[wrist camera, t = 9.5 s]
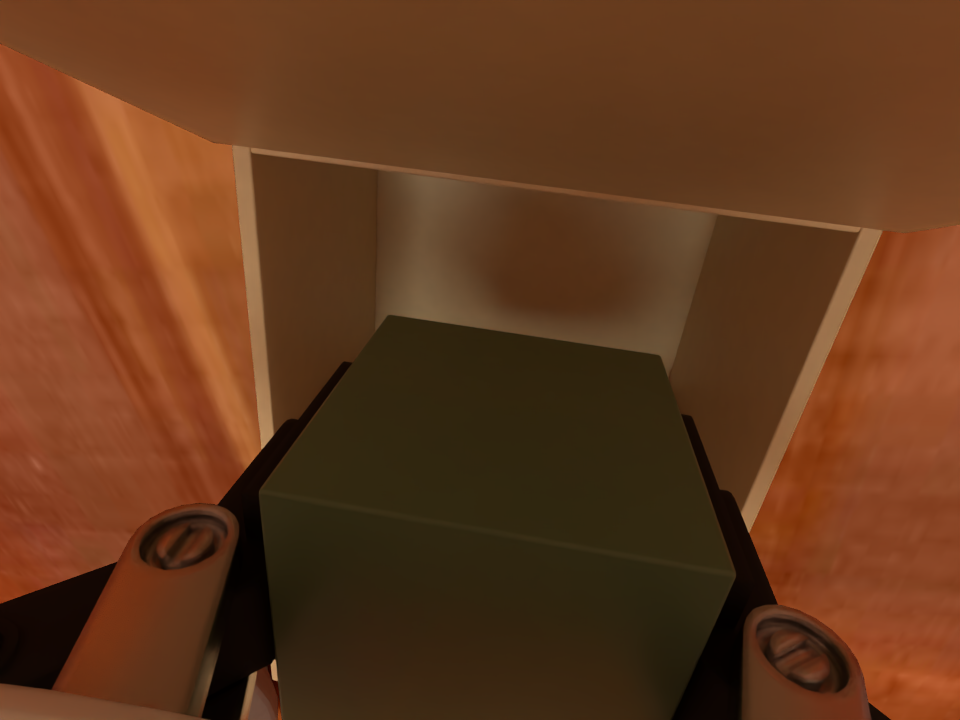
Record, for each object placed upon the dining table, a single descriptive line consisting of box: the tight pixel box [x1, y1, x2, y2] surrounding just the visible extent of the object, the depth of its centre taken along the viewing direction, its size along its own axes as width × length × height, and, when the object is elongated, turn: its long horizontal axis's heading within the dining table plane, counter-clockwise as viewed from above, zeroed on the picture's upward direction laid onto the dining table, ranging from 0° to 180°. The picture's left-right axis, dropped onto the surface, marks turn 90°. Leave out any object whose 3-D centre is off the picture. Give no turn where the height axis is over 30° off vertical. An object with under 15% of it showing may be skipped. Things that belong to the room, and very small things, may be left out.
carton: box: [232, 145, 883, 681], centre depth 19 cm, size 17×13×10 cm
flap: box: [0, 0, 960, 233], centre depth 6 cm, size 8×13×1 cm
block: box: [259, 315, 736, 720], centre depth 9 cm, size 5×5×5 cm
